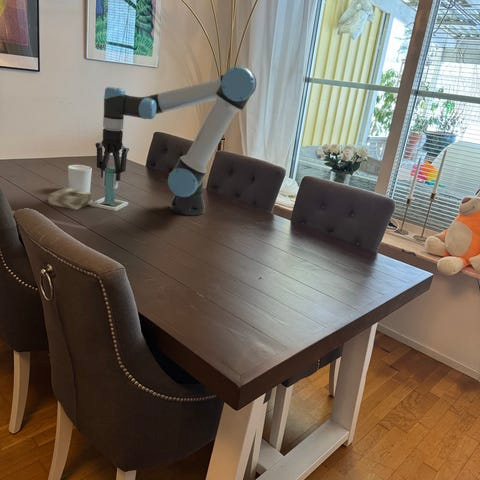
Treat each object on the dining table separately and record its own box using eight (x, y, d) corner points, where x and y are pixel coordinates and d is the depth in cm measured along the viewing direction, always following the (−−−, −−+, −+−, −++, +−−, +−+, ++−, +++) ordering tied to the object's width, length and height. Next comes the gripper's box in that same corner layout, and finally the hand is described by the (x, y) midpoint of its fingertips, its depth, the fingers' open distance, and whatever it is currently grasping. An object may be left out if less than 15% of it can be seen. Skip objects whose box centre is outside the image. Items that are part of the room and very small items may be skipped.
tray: (127, 206, 189) (128, 202, 188) (115, 213, 179) (115, 208, 178) (104, 201, 191) (104, 197, 190) (90, 207, 181) (90, 203, 180)
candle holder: (76, 198, 190) (76, 170, 185) (62, 192, 195) (63, 165, 191) (95, 195, 197) (96, 169, 193) (82, 190, 202) (83, 164, 198)
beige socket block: (92, 204, 185) (92, 193, 183) (76, 212, 174) (76, 199, 172) (66, 199, 187) (66, 187, 185) (48, 206, 176) (48, 193, 174)
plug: (117, 201, 186) (119, 168, 181) (112, 204, 181) (113, 170, 177) (106, 199, 187) (108, 166, 182) (101, 202, 182) (102, 168, 177)
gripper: (137, 132, 176) (133, 189, 184) (98, 124, 179) (96, 181, 187) (128, 133, 169) (125, 193, 177) (88, 126, 172) (86, 184, 180)
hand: (110, 187), depth 182 cm, fingers closed on plug, 4 cm apart
